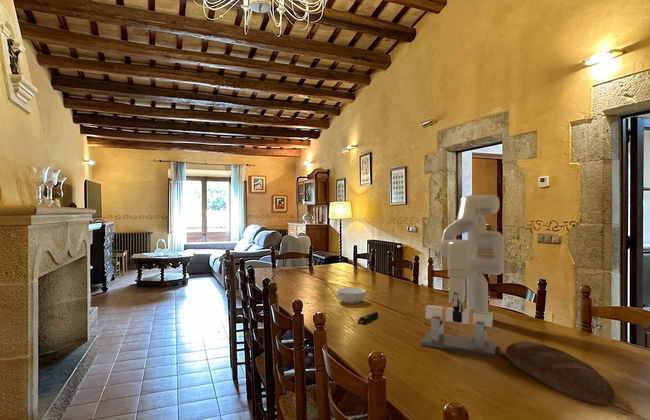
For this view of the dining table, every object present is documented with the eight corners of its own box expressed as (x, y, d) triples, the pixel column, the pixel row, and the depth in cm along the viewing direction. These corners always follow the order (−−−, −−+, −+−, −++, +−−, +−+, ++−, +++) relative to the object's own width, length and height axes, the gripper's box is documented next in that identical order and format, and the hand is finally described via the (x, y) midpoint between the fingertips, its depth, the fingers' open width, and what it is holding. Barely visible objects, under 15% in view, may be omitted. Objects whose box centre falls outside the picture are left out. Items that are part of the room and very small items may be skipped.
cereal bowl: (367, 305, 203) (367, 293, 203) (337, 306, 203) (337, 293, 203) (364, 298, 220) (364, 287, 220) (336, 298, 220) (336, 287, 220)
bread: (530, 353, 134) (530, 330, 134) (633, 405, 98) (632, 373, 98) (493, 357, 130) (492, 334, 130) (584, 411, 95) (584, 379, 95)
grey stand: (428, 335, 153) (428, 310, 154) (496, 346, 141) (496, 318, 141) (420, 345, 142) (420, 318, 142) (494, 357, 129) (493, 328, 129)
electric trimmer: (380, 318, 180) (380, 311, 181) (363, 325, 168) (363, 318, 168) (373, 317, 183) (373, 310, 183) (356, 324, 171) (356, 317, 171)
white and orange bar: (492, 324, 138) (492, 311, 138) (491, 327, 133) (491, 314, 134) (428, 315, 149) (428, 304, 149) (425, 318, 145) (425, 307, 145)
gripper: (451, 269, 151) (452, 313, 151) (443, 275, 136) (443, 324, 136) (471, 270, 147) (471, 316, 147) (464, 277, 132) (465, 327, 132)
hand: (458, 319), depth 141 cm, fingers closed on white and orange bar, 4 cm apart
